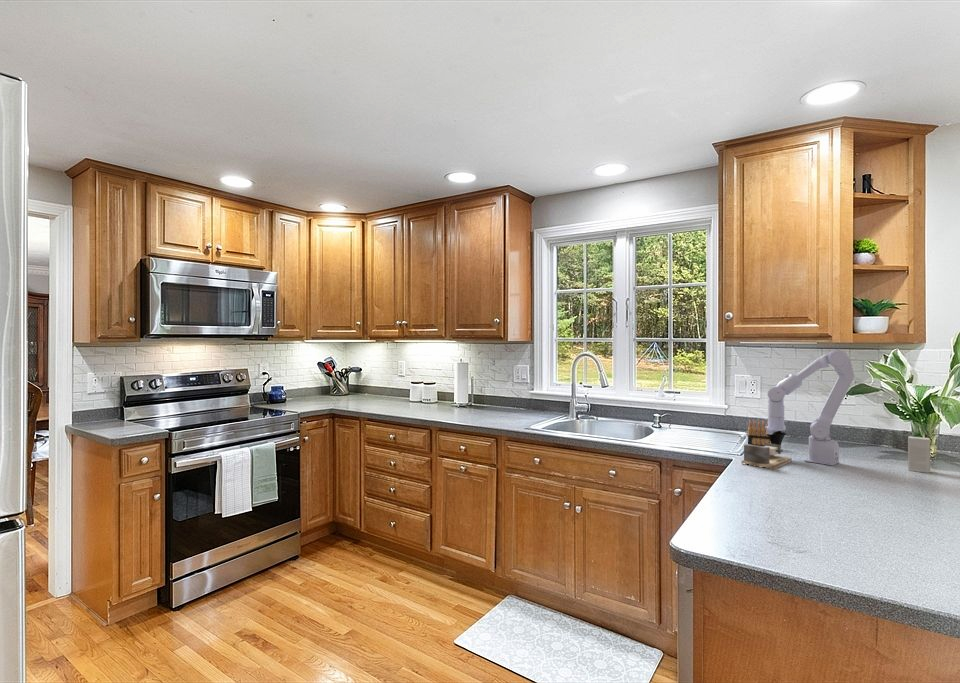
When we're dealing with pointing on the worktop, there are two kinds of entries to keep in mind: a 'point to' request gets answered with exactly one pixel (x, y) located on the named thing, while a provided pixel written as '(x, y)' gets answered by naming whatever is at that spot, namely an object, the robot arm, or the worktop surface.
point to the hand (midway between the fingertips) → (776, 450)
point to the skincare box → (919, 454)
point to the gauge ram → (773, 448)
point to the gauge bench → (772, 463)
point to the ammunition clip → (757, 434)
